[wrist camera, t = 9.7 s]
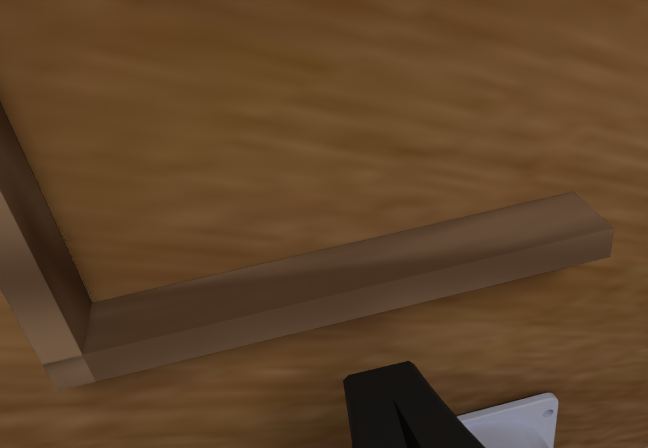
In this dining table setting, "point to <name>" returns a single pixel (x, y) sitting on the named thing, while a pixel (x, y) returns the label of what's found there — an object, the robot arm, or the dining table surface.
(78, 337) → the walnut bay
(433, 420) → the robot arm
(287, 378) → the dining table surface
